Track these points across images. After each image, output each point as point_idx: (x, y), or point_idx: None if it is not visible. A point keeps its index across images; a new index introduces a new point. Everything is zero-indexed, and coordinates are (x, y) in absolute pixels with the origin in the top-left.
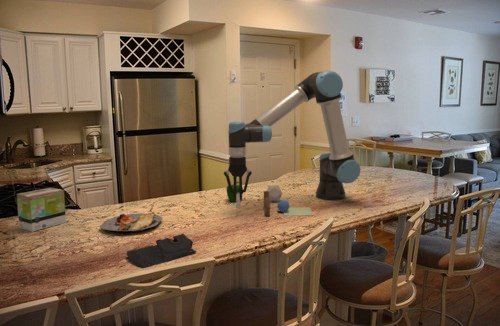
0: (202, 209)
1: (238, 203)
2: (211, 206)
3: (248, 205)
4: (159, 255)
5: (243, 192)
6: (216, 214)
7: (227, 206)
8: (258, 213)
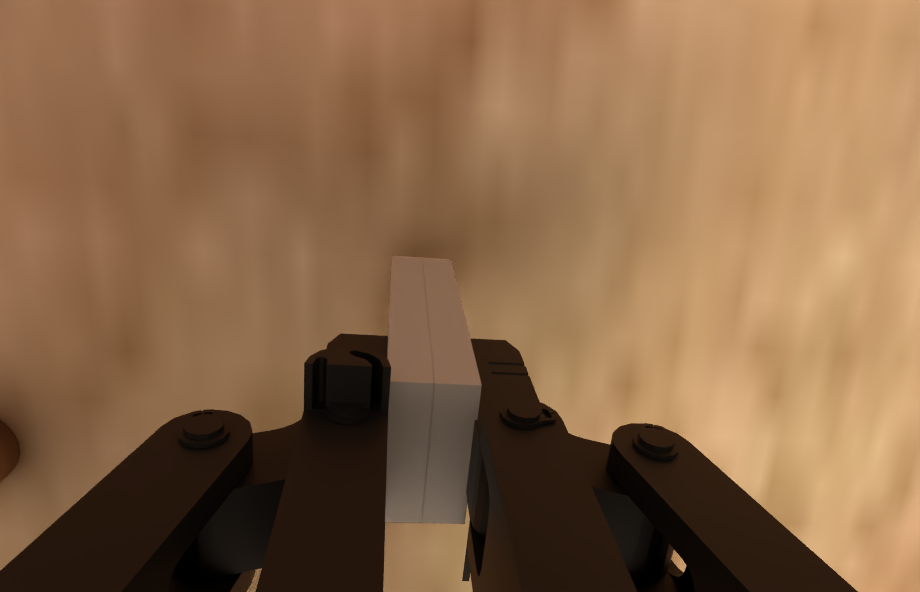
0: (894, 440)
1: (417, 285)
2: None
3: None
4: None
5: (262, 433)
6: (758, 186)
7: None
8: (72, 171)
